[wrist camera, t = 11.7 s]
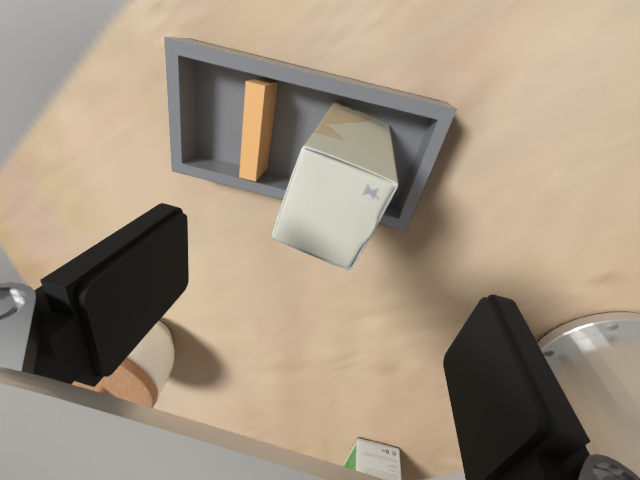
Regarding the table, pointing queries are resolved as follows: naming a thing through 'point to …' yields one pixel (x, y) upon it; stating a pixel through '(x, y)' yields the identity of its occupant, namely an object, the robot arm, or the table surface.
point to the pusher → (257, 127)
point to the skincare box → (375, 459)
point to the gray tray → (288, 120)
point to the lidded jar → (141, 369)
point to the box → (339, 187)
